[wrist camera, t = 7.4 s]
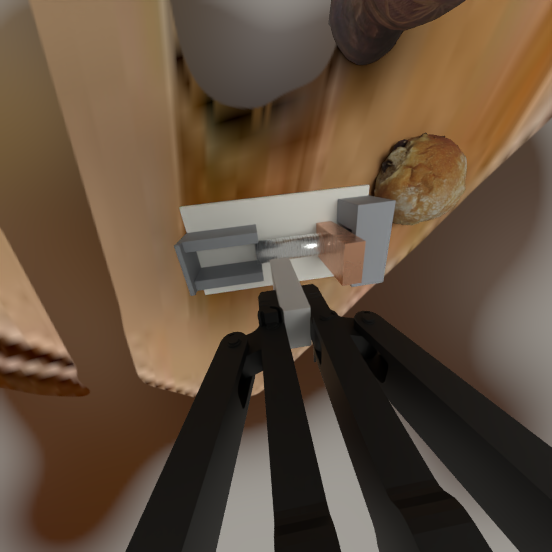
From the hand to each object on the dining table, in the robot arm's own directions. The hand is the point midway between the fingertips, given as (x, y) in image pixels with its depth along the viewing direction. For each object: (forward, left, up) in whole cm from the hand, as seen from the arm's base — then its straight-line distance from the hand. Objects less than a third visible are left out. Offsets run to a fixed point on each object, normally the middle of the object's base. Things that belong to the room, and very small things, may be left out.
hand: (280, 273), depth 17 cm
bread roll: (-4, +19, -13) cm, 23 cm away
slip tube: (+1, +5, -11) cm, 12 cm away
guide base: (+1, +2, -12) cm, 12 cm away
